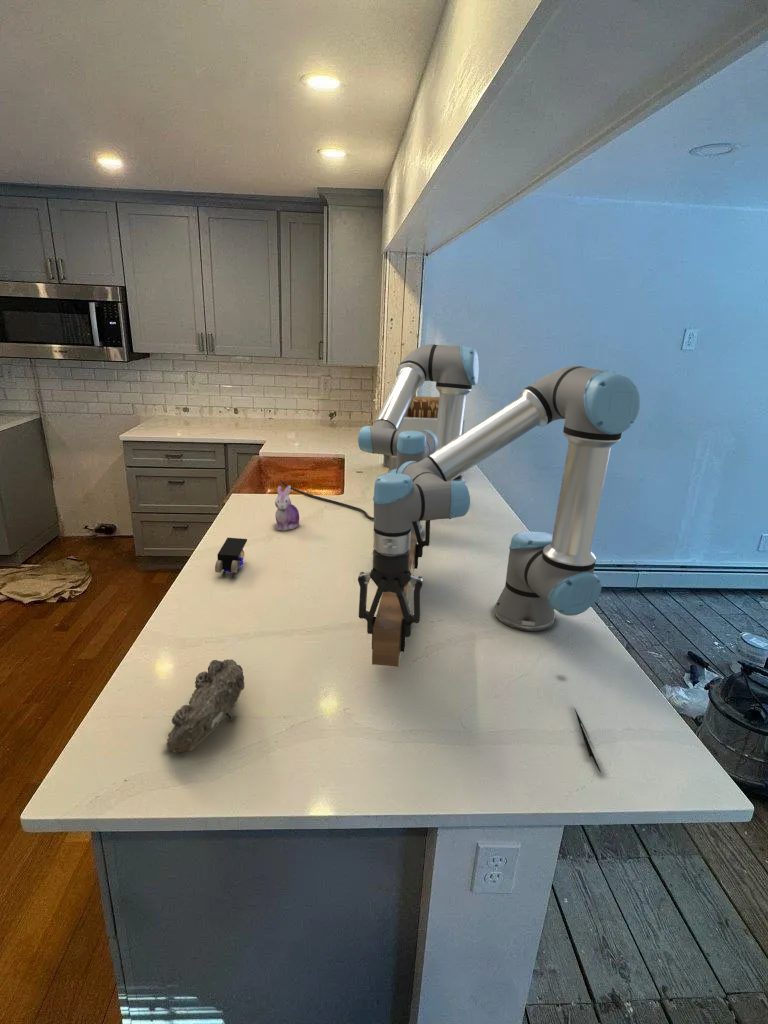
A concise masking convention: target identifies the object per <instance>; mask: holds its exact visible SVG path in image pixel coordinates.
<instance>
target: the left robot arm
mask: <svg viewBox="0 0 768 1024" xmlns="http://www.w3.org/2000/svg"><path fill="white" fill-rule="evenodd" d="M479 372H480V366H479V357H478V352H477V350H476V349H475V348H474V347H471V346H464V345H446V344H434V343H433V344H432V343H429V344H424V345H421V346H418V347H416V348H415V349H414V350H412V351H410V352H409V353H408V354H407V355H406V356H405V357H404V358H403V359H402V360H401V362H400V363H399V365H398V367H397V368H396V371H395V375H396V378H395V379H394V382H393V384H392V385H391V388H390V389H389V392H388V393H387V396H386V398H385V400H384V401H383V404H382V406H381V408H380V410H379V412H378V414H377V416H376V418H375V420H374V422H373V424H372V425H371V426H370V425H364V426H362V427H361V428H360V430H359V432H358V436H357V444H358V448H359V450H360V451H362V452H364V453H368V454H373V455H374V454H375V455H383V456H384V455H392V456H397V468H396V469H393V470H391V471H390V470H389V472H388V473H396V474H397V471H398V469H399V468H400V466H401V465H403V464H404V463H406V462H409V461H416V462H420V461H421V460H423V459H424V458H426V457H428V456H429V455H431V454H432V453H434V452H435V451H437V450H438V449H440V448H442V447H443V446H445V445H446V444H448V443H449V442H451V441H452V440H454V439H456V438H457V437H459V436H460V435H461V434H462V426H463V419H464V417H465V410H466V409H465V407H466V400H467V399H466V398H467V395H468V394H470V393H471V392H472V390H473V386H476V385H477V384H478V382H479V376H480V373H479ZM425 382H435V389H436V390H437V391H438V393H439V396H438V397H439V405H438V415H437V424H436V433H435V434H434V433H433V432H431V431H429V430H421V431H404V430H399V427H400V425H401V423H402V421H403V419H404V417H405V415H406V412H407V410H408V408H409V406H410V404H411V402H412V400H413V397H414V396H416V393H417V391H418V389H419V388H420V387H422V386H423V385H424V384H425ZM461 476H462V474H461V475H459V476H458V477H456V478H455V479H453V481H462V482H464V483H465V484H466V480H465V479H464V478H462V479H461ZM280 484H282V485H284V486H285V488H286V487H287V486H288V485H289V484H288V483H286V482H285V481H283V480H281V481H280ZM291 490H292V491H294V492H296V493H299V494H301V495H304V496H307V497H310V498H313V499H317V500H321V501H325V502H328V503H332V504H335V505H339V506H343V507H345V508H349V509H353V510H356V511H359V512H360V513H362V514H363V515H364V517H366V518H367V519H368V520H372V521H374V516H370V515H368V513H367V511H365V510H364V509H362V508H360V507H358V506H354V505H350V504H347V503H345V502H340V501H337V500H332V499H329V498H326V497H321V496H318V495H313V494H311V493H308V492H305V491H302V490H299V489H297V488H294V487H293V486H291ZM421 522H422V521H414V522H411V532H415V534H416V538H417V544H416V553H415V570H418V566H419V558H423V552H424V547H429V546H430V542H431V520H425V521H424V523H425V525H424V539H423V525H422V524H421Z"/></svg>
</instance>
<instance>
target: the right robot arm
mask: <svg viewBox="0 0 768 1024" xmlns="http://www.w3.org/2000/svg"><path fill="white" fill-rule="evenodd" d="M640 409H641V397H640V391H639V389H638V387H637V386H636V385H635V383H634V382H633V380H632V379H631V378H629V377H628V376H626V375H624V374H621V373H617V372H615V371H612V370H607V369H606V370H605V369H599V368H592V367H585V366H580V365H570V366H566V367H562V368H559V369H557V370H555V371H551V373H549V374H546V375H545V376H542V377H541V378H539V379H538V380H535V381H534V382H533V383H531V384H530V385H528V386H526V387H524V389H522V390H521V391H520V392H519V396H518V397H517V398H516V399H514V400H513V401H511V402H510V403H508V404H507V405H505V406H503V407H502V408H500V409H498V411H496V412H495V413H493V414H491V415H490V416H488V417H486V418H485V419H483V420H482V421H480V422H479V423H477V424H476V425H474V426H472V427H471V428H469V429H468V430H466V431H465V432H463V434H462V435H460V436H459V437H457V438H456V439H454V440H452V441H451V442H449V443H448V444H446V445H445V446H443V447H442V448H440V449H438V450H437V451H435V452H434V453H432V454H431V455H429V456H428V457H426V458H424V459H423V460H421V461H420V462H416V461H409V462H406V463H404V464H403V465H401V466H400V468H399V469H398V471H397V474H396V473H389V472H387V473H384V474H380V475H379V476H377V477H376V479H375V481H374V488H373V497H372V502H373V517H374V520H373V529H372V531H373V532H372V533H373V534H372V535H373V536H372V548H373V550H372V569H371V570H370V572H364V571H361V572H359V575H358V577H357V582H358V585H359V602H358V619H360V620H363V619H364V620H366V633H367V634H368V635H371V646H372V645H373V626H374V623H375V619H376V616H375V615H376V612H377V610H378V607H379V604H380V600H381V597H382V593H383V592H393V593H396V595H397V598H398V600H399V603H400V607H401V610H402V614H403V617H404V619H403V622H402V631H401V653H405V650H406V640H407V639H406V638H411V635H412V624H413V625H414V624H419V623H420V621H421V590H422V587H423V584H424V577H423V576H421V575H419V576H415V575H414V576H412V575H411V572H410V570H409V560H410V552H409V549H410V538H411V522H414V521H420V522H423V521H424V522H426V520H430V521H435V520H451V519H455V518H462V517H465V516H467V514H468V512H469V511H470V507H471V494H470V489H469V487H468V485H467V484H466V482H465V483H464V482H462V481H453V479H455V478H456V477H458V476H459V475H461V476H462V474H464V473H465V472H467V471H469V470H471V469H472V468H474V467H475V466H477V465H478V464H480V463H481V462H483V461H484V460H486V459H487V458H489V457H490V456H492V455H494V454H495V453H497V452H498V451H500V450H502V449H503V448H504V447H506V446H508V445H509V444H511V443H512V442H514V441H515V440H517V439H519V438H520V437H522V436H523V435H525V434H527V433H528V432H530V431H531V430H533V429H534V428H536V427H542V428H543V427H546V426H547V425H549V424H550V423H552V422H554V421H559V420H564V424H563V430H562V434H563V436H565V438H566V439H567V440H568V441H567V442H568V444H567V451H566V456H565V462H564V468H563V474H562V479H561V485H560V490H559V496H558V503H557V509H556V513H555V520H554V525H553V531H552V534H551V533H549V532H542V531H522V532H518V533H516V534H514V535H513V536H512V537H511V539H510V544H509V548H508V549H509V552H508V562H507V568H506V574H505V575H506V576H505V585H504V587H503V589H502V590H501V593H500V595H499V597H498V599H497V601H496V603H495V607H494V615H495V617H496V619H497V620H498V621H499V622H501V623H502V624H504V625H505V626H508V627H510V628H512V629H516V630H520V631H525V632H540V631H546V630H548V629H550V628H551V627H552V626H553V625H554V623H555V619H556V614H555V613H556V612H557V613H558V614H561V615H564V616H566V617H567V616H568V617H569V616H577V615H581V614H583V613H585V612H586V611H588V610H589V608H591V607H593V606H594V605H595V604H596V602H597V601H598V599H599V598H600V595H601V592H602V588H603V587H602V581H601V580H600V578H599V576H598V575H597V574H595V573H594V572H595V568H596V567H595V566H596V560H597V557H596V556H595V554H594V552H592V545H593V541H594V540H593V539H594V535H595V530H596V525H597V520H598V515H599V509H600V504H601V501H602V500H601V499H602V495H603V490H604V486H605V485H604V484H605V479H606V475H607V469H608V466H609V465H608V464H609V459H610V453H611V449H612V447H613V446H614V445H616V444H617V443H619V442H620V441H621V438H622V433H624V432H626V431H628V430H629V429H630V428H631V425H632V424H634V423H635V421H636V420H637V417H638V416H639V413H640ZM371 580H372V581H373V583H374V585H375V586H376V587H377V589H376V590H375V594H374V596H373V600H372V602H371V605H370V609H369V610H367V602H368V601H367V600H368V586H369V583H370V581H371ZM409 581H410V582H411V583H412V588H413V589H414V590H413V614H412V612H411V609H410V604H409V605H408V602H407V598H406V594H405V589H404V587H405V586H406V585H407V583H408V582H409ZM555 611H556V612H555Z"/></svg>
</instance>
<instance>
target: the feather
mask: <svg viewBox="0 0 768 1024" xmlns="http://www.w3.org/2000/svg"><path fill="white" fill-rule="evenodd" d="M561 678H563V676H561ZM574 711H575V714H576V718H577V722H578V725H579V729H580V733H581V735H582V739H583V741H584V744H585V747H586V750H587V753H588V757H589V759H590V761H591V764H592V763H593V762H594V763H595V765H596V767H597V770H599V772H600V773H601V768H600V767H599V764H600V763H601V762H602V761H599V760H600V759H599V758H597V759H598V761H599V762H600V763H599V764H598V762H597V759H596V757H595V754H594V752H593V750H592V748H593V749H595V746H594V744H593V742H590V741H589V739H588V737H589V734H588V731H587V729H586V727H585V726H584V723H583V722H582V719H581V717H580V716H579V714H578V712H577V710H576V709H574ZM590 744H591V745H590ZM591 746H592V747H591ZM591 758H592V759H591ZM592 760H593V761H592ZM601 764H602V763H601ZM592 766H593V764H592Z"/></svg>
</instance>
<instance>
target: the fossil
mask: <svg viewBox="0 0 768 1024" xmlns="http://www.w3.org/2000/svg"><path fill="white" fill-rule="evenodd" d="M243 670H244V669H243V667H242V665H240V664H237V662H236V661H235V660H234V659H232V658H231V659H227V658H226V659H224V660H223V661H222V660H217V659H212V660H211V661H210V663H209V665H208V666H207V671H201V672H199V673H198V674H197V675H196V676H195V680H194V684H195V685H194V687H195V689H194V690H193V693H192V694H191V697H190V698H189V700H188V704H184V705H182V706H181V707H180V709H177V710H176V711H175V713H174V715H173V716H172V718H171V723H172V724H173V727H172V730H171V731H170V732H168V734H167V738H166V741H167V742H166V745H167V749H168V750H169V751H173V752H174V753H176V754H178V753H182V752H188V751H189V752H192V751H193V750H195V748H196V747H197V746H199V744H200V743H201V742H203V741H204V740H205V739H206V738H207V737H208V736H209V735H210V734H211V733H212V732H214V730H215V729H217V727H218V726H219V724H220V722H221V721H222V720H223V719H224V718H225V716H226V717H227V719H229V720H233V717H232V715H230V714H229V710H230V709H231V708H234V706H235V704H236V703H237V702H238V699H239V697H240V695H241V693H242V691H243V690H245V689H244V688H245V675H244V671H243Z"/></svg>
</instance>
